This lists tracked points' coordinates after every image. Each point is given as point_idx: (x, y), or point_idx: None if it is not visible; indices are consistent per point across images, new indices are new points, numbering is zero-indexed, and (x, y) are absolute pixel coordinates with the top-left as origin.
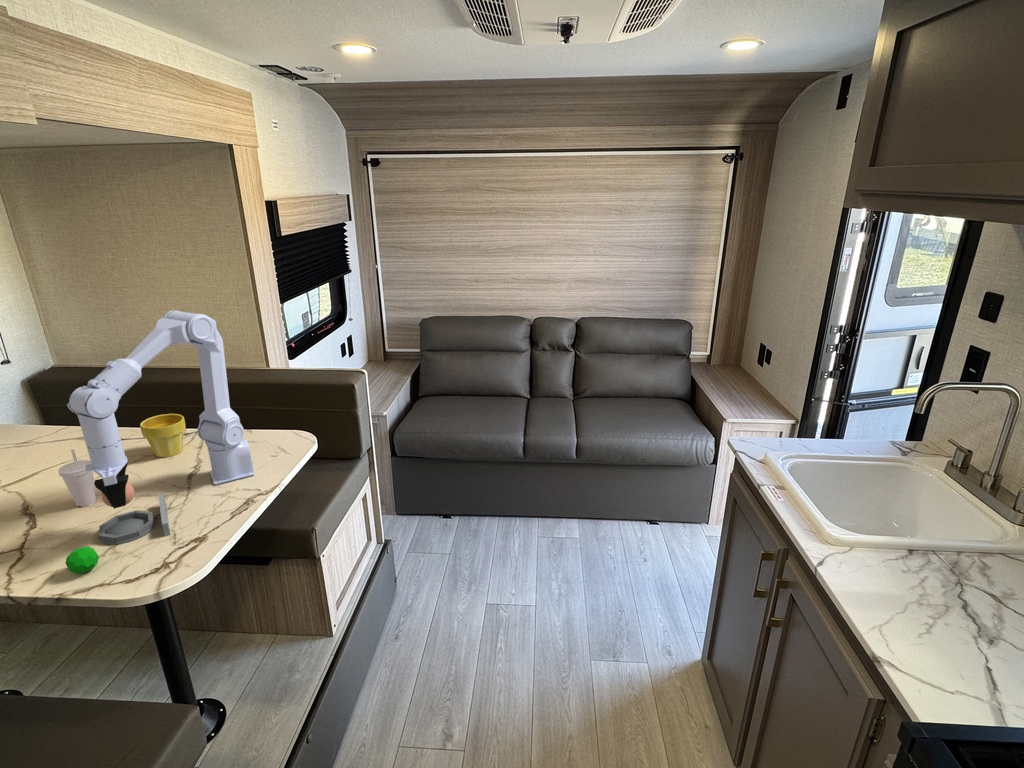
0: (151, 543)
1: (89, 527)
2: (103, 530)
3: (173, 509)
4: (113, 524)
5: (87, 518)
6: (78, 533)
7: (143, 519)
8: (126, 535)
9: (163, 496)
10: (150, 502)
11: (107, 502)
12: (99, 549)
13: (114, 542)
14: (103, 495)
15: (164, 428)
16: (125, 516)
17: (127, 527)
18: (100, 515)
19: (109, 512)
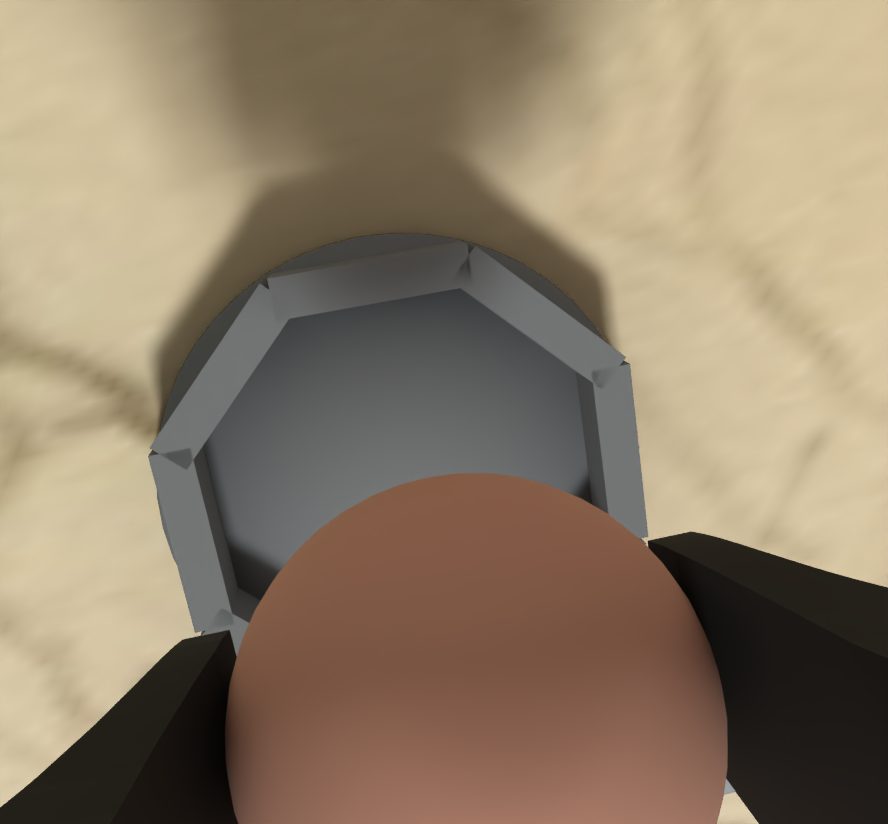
0: (70, 712)
1: (613, 102)
2: (358, 303)
3: None
4: (530, 339)
5: (812, 44)
6: (537, 15)
7: None
8: (175, 540)
9: (725, 791)
10: (834, 565)
11: (271, 588)
12: (126, 289)
13: (168, 417)
14: (335, 598)
15: None
16: (594, 445)
17: (417, 476)
18: (811, 162)
19: (829, 237)
